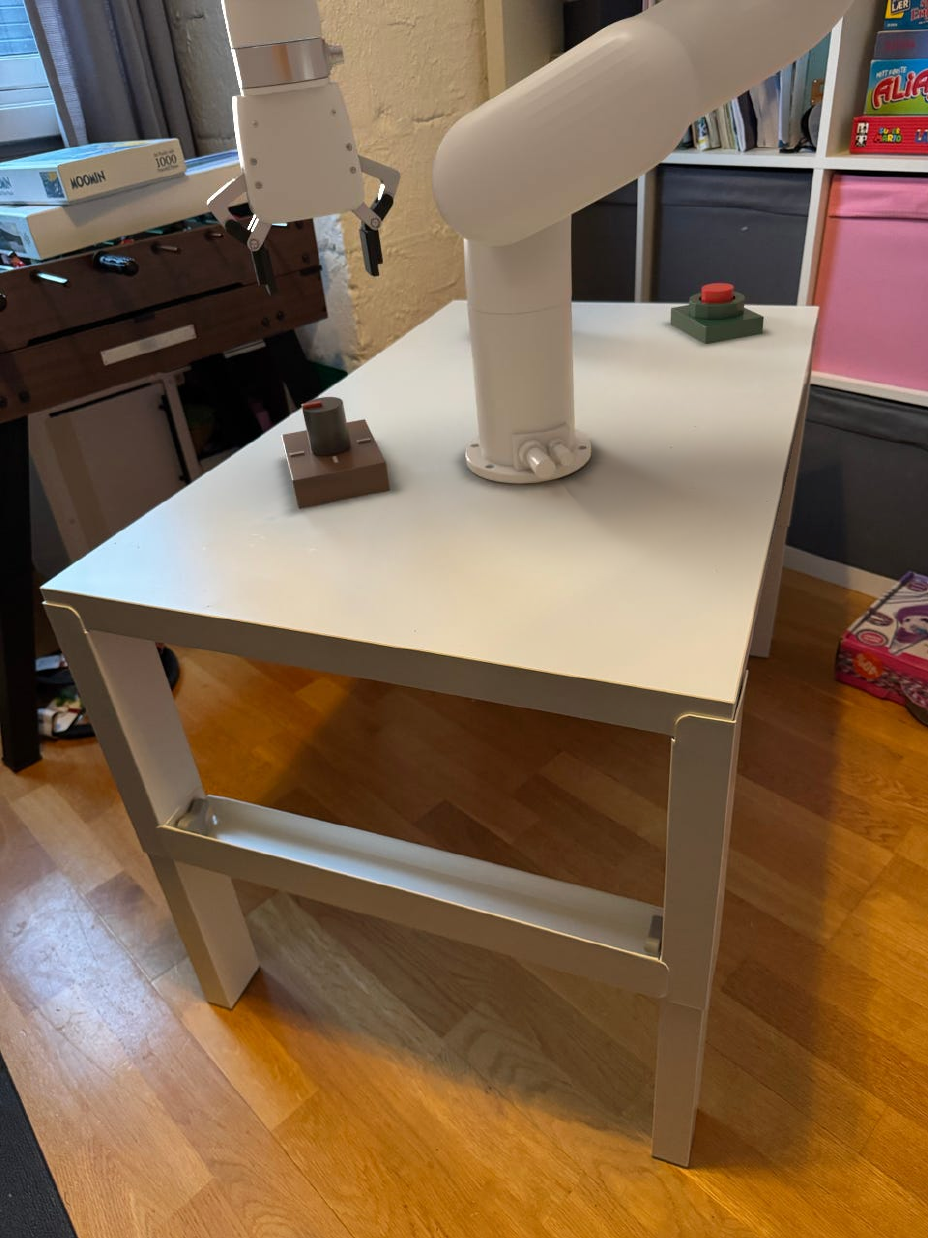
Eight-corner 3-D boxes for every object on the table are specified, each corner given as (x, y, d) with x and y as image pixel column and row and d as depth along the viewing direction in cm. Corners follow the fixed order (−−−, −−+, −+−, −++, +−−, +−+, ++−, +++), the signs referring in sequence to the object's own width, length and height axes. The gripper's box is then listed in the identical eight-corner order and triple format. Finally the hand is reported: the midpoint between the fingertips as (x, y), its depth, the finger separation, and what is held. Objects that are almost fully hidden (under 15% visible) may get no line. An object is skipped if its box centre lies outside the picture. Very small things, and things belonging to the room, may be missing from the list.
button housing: (762, 333, 113) (765, 301, 111) (705, 344, 112) (707, 312, 109) (723, 314, 121) (725, 284, 119) (670, 324, 120) (671, 294, 118)
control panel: (390, 490, 86) (385, 460, 84) (298, 508, 84) (291, 478, 83) (369, 444, 95) (364, 417, 94) (286, 460, 94) (280, 433, 92)
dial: (347, 436, 90) (339, 390, 87) (353, 450, 87) (345, 404, 84) (308, 443, 89) (299, 398, 87) (313, 458, 86) (303, 412, 84)
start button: (738, 302, 113) (739, 287, 112) (710, 307, 112) (710, 293, 111) (723, 294, 116) (724, 281, 115) (695, 299, 116) (696, 286, 115)
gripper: (373, 55, 78) (401, 259, 87) (175, 82, 74) (227, 291, 84) (393, 55, 72) (421, 274, 81) (179, 85, 68) (234, 309, 78)
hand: (323, 282), depth 83 cm, fingers open, 9 cm apart
